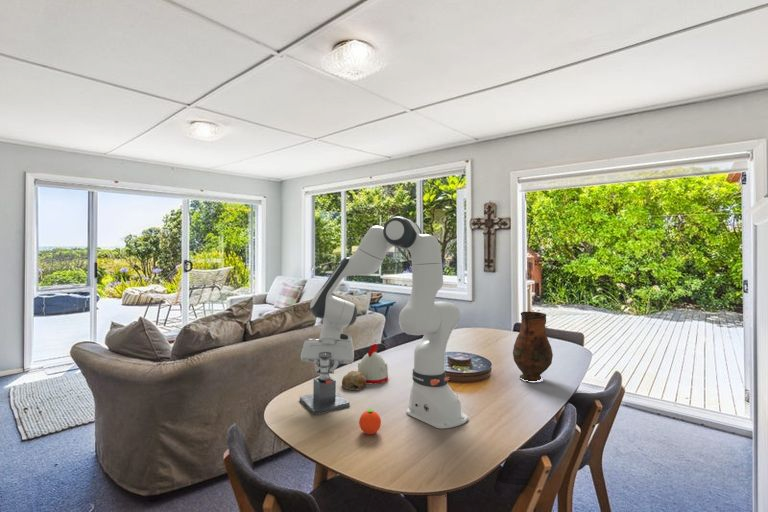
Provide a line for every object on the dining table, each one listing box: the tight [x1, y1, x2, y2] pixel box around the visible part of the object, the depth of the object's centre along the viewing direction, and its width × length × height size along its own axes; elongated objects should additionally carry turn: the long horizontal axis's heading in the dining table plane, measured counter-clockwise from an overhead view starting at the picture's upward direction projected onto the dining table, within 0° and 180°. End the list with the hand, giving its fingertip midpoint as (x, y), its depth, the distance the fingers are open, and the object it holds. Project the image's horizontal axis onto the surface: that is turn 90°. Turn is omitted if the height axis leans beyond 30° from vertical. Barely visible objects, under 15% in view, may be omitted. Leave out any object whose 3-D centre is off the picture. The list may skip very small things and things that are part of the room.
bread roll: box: [341, 370, 367, 391], centre depth 160 cm, size 10×10×8 cm
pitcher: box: [512, 311, 554, 381], centre depth 172 cm, size 17×21×30 cm
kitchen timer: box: [357, 343, 389, 385], centre depth 169 cm, size 14×14×15 cm
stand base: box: [299, 376, 351, 416], centre depth 142 cm, size 14×14×10 cm
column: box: [318, 352, 331, 383], centre depth 141 cm, size 5×5×17 cm
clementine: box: [358, 408, 382, 435], centre depth 121 cm, size 8×7×7 cm
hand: (324, 372), depth 141 cm, fingers closed on column, 4 cm apart
